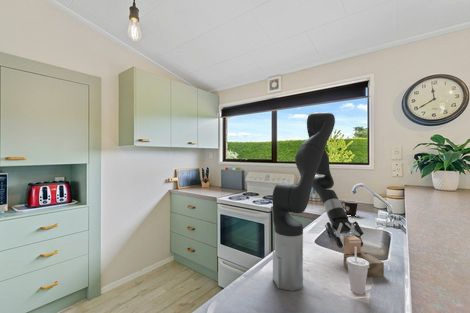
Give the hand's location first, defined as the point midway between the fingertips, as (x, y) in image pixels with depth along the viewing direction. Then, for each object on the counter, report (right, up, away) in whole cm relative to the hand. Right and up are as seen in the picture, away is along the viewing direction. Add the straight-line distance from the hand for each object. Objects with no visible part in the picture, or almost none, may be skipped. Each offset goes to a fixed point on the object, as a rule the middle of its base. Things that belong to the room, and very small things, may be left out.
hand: (351, 246), depth 89 cm
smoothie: (-8, -7, -19) cm, 21 cm away
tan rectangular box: (0, -6, 0) cm, 6 cm away
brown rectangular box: (+1, -6, -7) cm, 9 cm away
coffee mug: (+38, -7, +74) cm, 83 cm away
